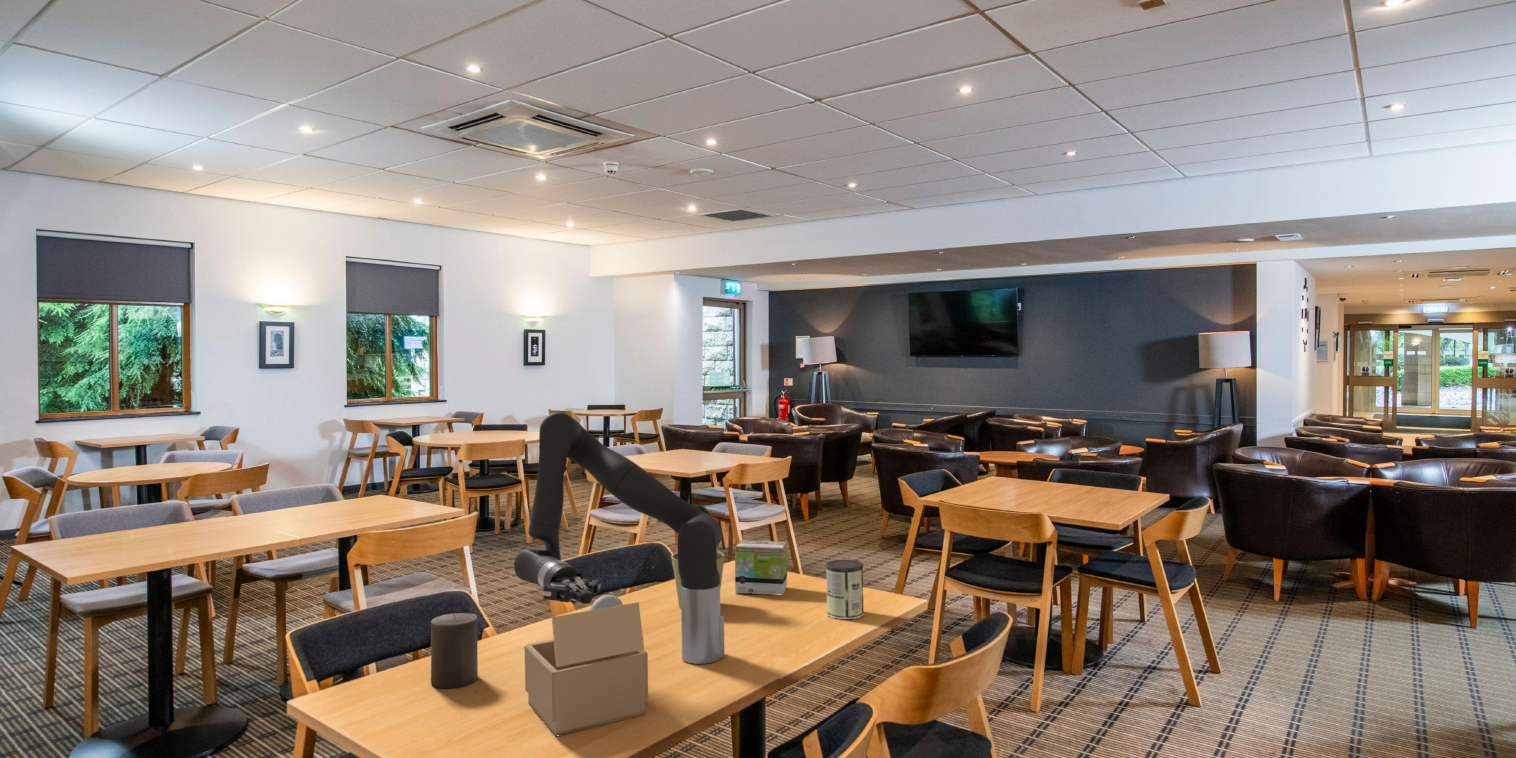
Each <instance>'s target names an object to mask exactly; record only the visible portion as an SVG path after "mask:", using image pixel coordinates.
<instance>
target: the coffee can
mask: <svg viewBox="0 0 1516 758" xmlns="http://www.w3.org/2000/svg"><path fill="white" fill-rule="evenodd" d="M825 567H826V573H825V574H826V605H827V607H826V610H827V611H826V615H827V616H828V617H829V616H830V617H829V618H831V617H832V618H831V619H834V618H837V619H836V620H840V619H853V620H857V618H858V619H861V618H863V617H864V616H863V615H865V613H864V611H865V609H864V576H863V575H864V571H863V568H864V563H863V562H861V561H858V560H854V559H853V560H852V559H836V560H830V561H828V562H826V563H825ZM862 616H863V617H862ZM860 617H861V618H860Z"/></svg>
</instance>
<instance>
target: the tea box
mask: <svg viewBox="0 0 1516 758" xmlns="http://www.w3.org/2000/svg"><path fill="white" fill-rule="evenodd" d="M734 549H735V551H734V552H735V553H734V555H735V556H734V561H735V562H734V587H735V589H734V590H735V592H734V593H735V594H749V593H752V595H754V593H756V594H755V595H765V594H783V595H784V593H785V591H786V589H787V587H788V542H787V541H773V540H772V541H770V540H769V541H767V540H747V539H745V540H742V539H741V540H740V541H739V542H738V544H737V545H736V546H735V548H734ZM786 586H787V587H786ZM785 588H786V589H785Z"/></svg>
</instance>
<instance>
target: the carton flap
mask: <svg viewBox="0 0 1516 758" xmlns="http://www.w3.org/2000/svg"><path fill="white" fill-rule="evenodd" d="M640 610H641V609H640V602H639V601H638V602H631V603H626V604H623V605H619V606H613V607H607V608H602V609H596V610H590V609H589V610H586V611H585V610H584V611H579V612H574V613H567V614H562V615H557V616H551V624H552V625H551V626H552V635H553V639H554V648H555V659H556V667H560V666H565V665H570V664H575V663H579V662H584V661H589V660H594V659H599V658H604V657H609V656H613V655H618V654H623V653H628V652H633V651H638V650H642V649H643V650H645V644H644V637H643V627H642V617H641V611H640Z"/></svg>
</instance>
